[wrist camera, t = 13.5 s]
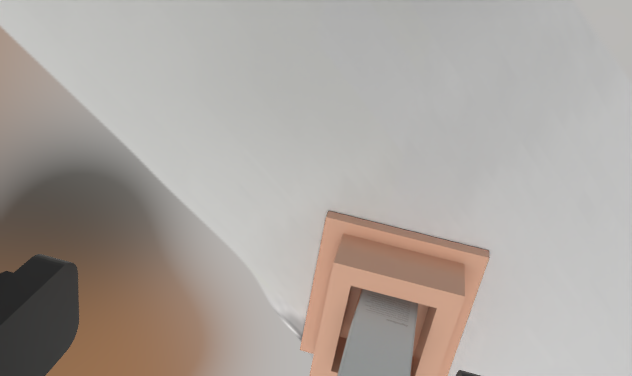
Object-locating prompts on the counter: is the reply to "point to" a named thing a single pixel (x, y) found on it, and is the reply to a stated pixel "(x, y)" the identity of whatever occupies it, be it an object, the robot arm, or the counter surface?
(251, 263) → the counter surface
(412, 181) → the counter surface
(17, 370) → the robot arm
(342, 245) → the tan open box
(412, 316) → the skincare box
